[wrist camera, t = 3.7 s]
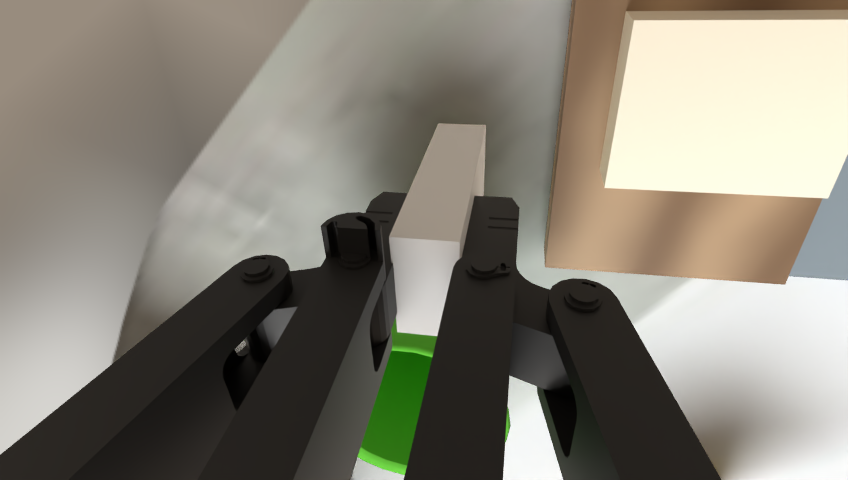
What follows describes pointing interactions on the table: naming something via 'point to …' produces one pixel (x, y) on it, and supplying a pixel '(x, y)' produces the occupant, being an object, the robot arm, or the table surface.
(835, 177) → the tile
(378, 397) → the cup
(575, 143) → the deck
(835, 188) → the mat
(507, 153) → the table surface
